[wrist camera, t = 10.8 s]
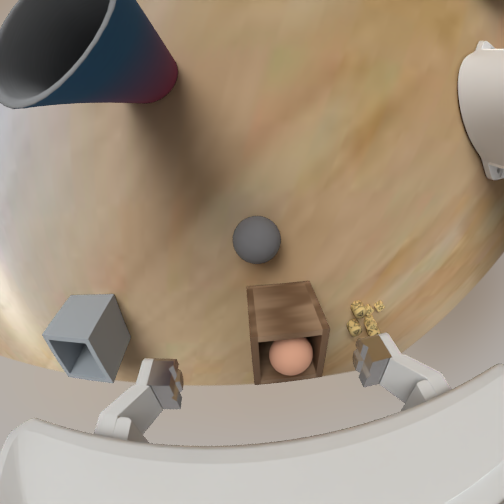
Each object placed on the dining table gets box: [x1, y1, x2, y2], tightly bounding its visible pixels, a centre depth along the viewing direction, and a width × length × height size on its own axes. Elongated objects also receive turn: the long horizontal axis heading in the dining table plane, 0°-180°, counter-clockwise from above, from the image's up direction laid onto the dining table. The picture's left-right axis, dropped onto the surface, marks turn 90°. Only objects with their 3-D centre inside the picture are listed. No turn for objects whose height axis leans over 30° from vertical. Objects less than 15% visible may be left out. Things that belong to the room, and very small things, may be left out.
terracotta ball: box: [269, 337, 313, 376], centre depth 23 cm, size 4×4×4 cm
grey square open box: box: [42, 294, 131, 383], centre depth 25 cm, size 6×6×7 cm
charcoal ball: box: [233, 216, 281, 264], centre depth 23 cm, size 4×4×4 cm
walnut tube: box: [247, 281, 330, 385], centre depth 25 cm, size 6×6×7 cm
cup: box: [0, 0, 178, 109], centre depth 11 cm, size 7×7×15 cm
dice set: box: [347, 301, 385, 336], centre depth 30 cm, size 5×5×2 cm
